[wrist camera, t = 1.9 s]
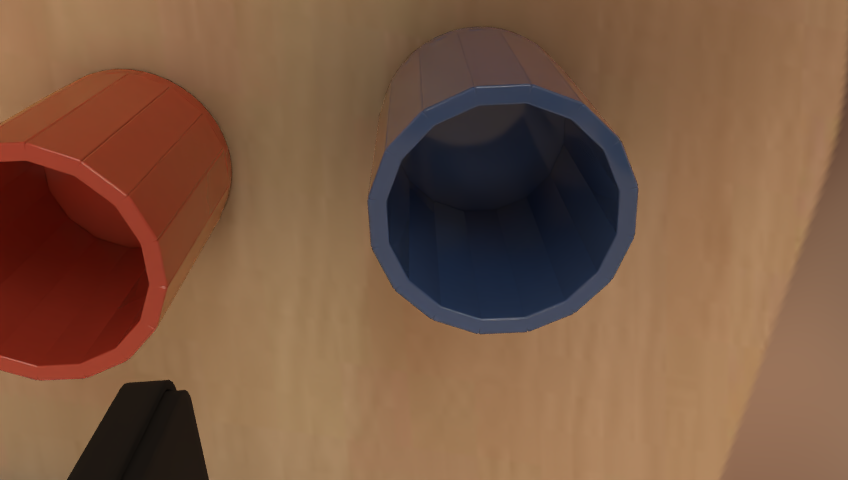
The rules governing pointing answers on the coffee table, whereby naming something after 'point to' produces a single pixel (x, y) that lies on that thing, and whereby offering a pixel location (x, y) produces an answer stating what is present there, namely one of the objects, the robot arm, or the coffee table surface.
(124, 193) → the red cup
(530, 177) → the blue cup
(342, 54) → the coffee table surface
